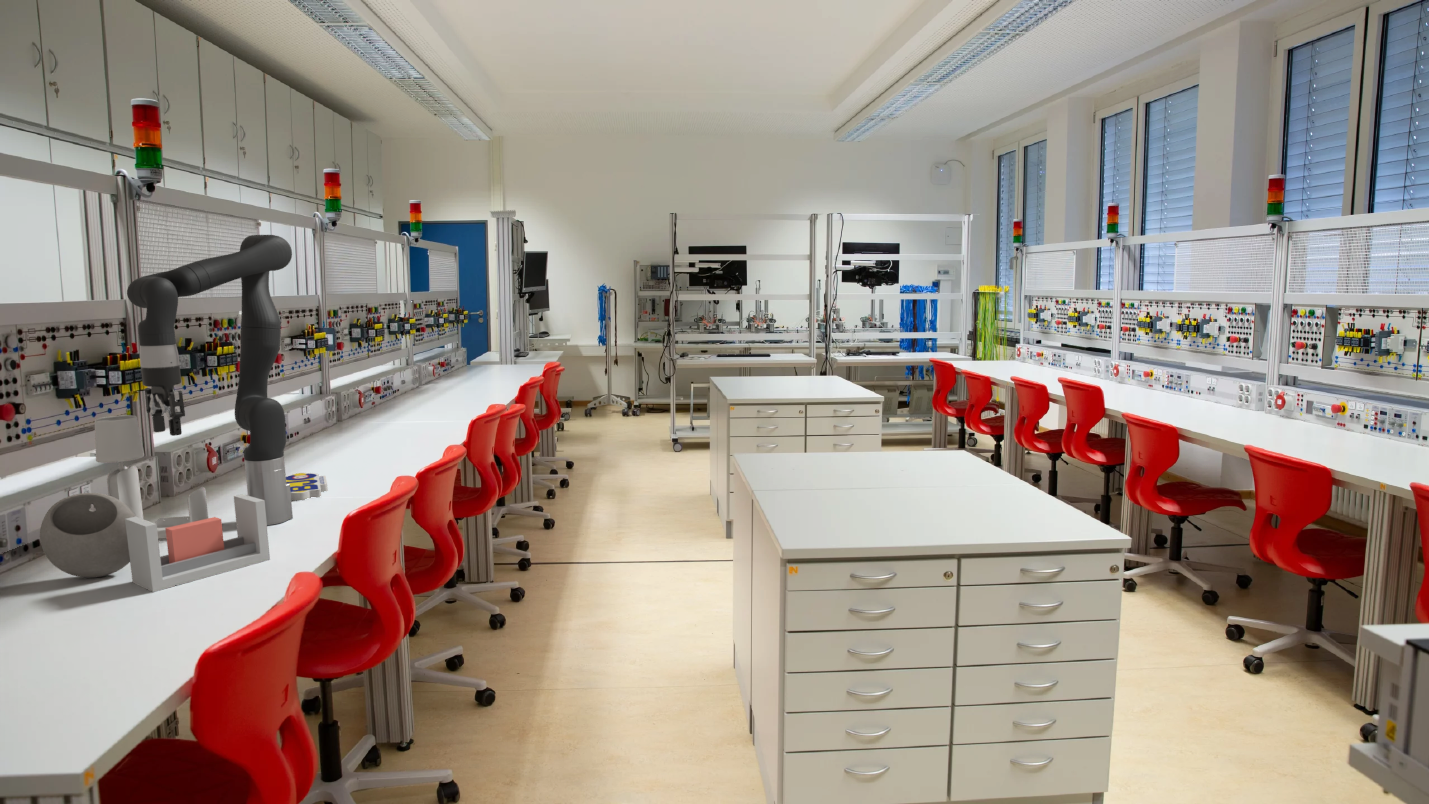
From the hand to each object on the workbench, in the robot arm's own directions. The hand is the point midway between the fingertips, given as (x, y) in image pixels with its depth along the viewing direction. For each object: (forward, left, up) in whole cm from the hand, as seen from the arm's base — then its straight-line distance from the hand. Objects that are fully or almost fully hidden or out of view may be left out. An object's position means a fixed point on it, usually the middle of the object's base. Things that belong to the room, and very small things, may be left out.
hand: (167, 433), depth 196 cm
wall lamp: (-2, -19, -28) cm, 34 cm away
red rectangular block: (+5, +21, -26) cm, 34 cm away
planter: (+19, +6, -28) cm, 35 cm away
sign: (-44, -32, -29) cm, 62 cm away
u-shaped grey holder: (+4, +21, -28) cm, 35 cm away
